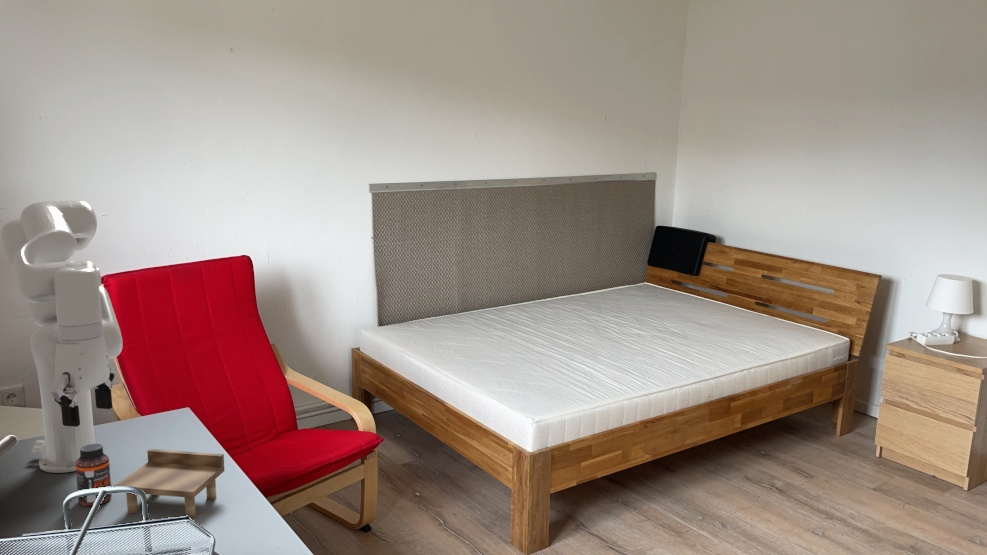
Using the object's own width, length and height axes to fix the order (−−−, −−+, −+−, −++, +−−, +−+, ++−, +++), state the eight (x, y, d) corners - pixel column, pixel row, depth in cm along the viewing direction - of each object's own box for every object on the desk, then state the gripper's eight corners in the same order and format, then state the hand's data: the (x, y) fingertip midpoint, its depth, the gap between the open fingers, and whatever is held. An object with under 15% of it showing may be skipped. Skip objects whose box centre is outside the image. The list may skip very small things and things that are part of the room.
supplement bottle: (98, 509, 150) (94, 454, 148) (71, 506, 151) (66, 452, 149) (118, 495, 156) (114, 442, 154) (92, 492, 157) (87, 440, 155)
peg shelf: (116, 515, 147) (113, 473, 146) (153, 488, 159) (150, 448, 158) (195, 522, 145) (192, 480, 144) (225, 494, 157) (223, 454, 155)
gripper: (92, 320, 156) (99, 401, 159) (30, 342, 139) (39, 431, 142) (126, 321, 155) (132, 403, 158) (67, 343, 138) (76, 434, 141)
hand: (88, 416), depth 150 cm, fingers open, 9 cm apart
